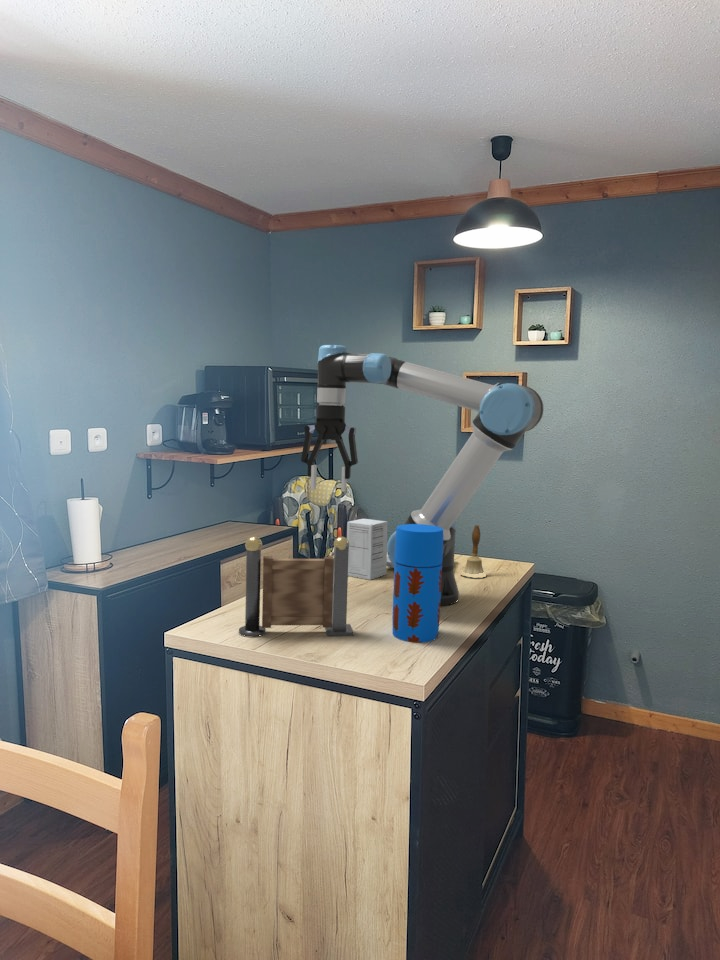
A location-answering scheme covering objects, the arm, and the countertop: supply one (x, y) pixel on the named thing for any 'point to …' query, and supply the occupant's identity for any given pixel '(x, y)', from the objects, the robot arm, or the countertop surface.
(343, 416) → the robot arm
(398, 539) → the thermos
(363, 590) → the countertop surface
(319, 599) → the walnut gate
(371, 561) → the supplement box
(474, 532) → the hand bell
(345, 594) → the post
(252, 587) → the hinge post
